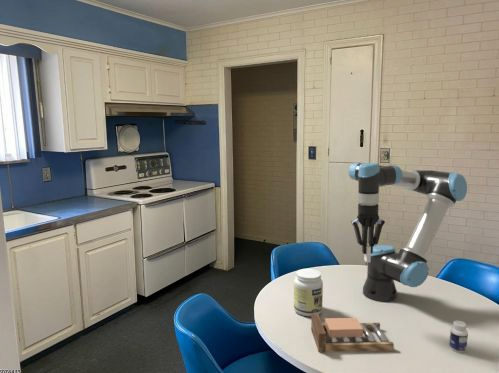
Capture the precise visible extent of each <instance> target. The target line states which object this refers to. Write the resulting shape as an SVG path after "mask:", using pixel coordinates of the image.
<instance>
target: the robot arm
mask: <svg viewBox="0 0 499 373" xmlns="http://www.w3.org/2000/svg"><path fill="white" fill-rule="evenodd" d="M348 176H349V178H350V179H351V180H354V181H358V187H357V188H358V193H357V195H358V200H357V201H358V202H357V203H358V204H357V206H358V207H357V217H356V219H355V220H351V222H350V223H351V225H352V226H353V230H354V232H355V233H354V234H355V237H356V242H357V244H358V245H359V246H361V247H362V250H361V251H362V254H364V255H363V256H364V258H363V260H364V261H365V263H367V268H366V269H367V272H366V273H367V274H366V275H367V276H366V278H365V281H364V284H363V287H362V295H364V297H366V298H367V299H371V300H373V301H378V302H390V301H392V302H393V301H394V300H396V299H397V297H398V291H397V287H396V283H395V282H398V283H400V284H402V285H404V286H407V287H410V288H417V287H419V286H421V285H422V284H424V282H425V281H426V280H427V278H428V276H429V271H430V267H429V265H428V264H427V263H428V258H427V253H428V252H429V250H430V247H431V246H432V243H433V241H434V240H435V238H436V235H437V234H438V231H439V229H440V226H441V225H442V223H443V220H444V218H445V216H446V214H447V212H448V211H449V208H452V207H454V206H455V204H456V202H460V201H463V200H464V199H465V198H466V196H467V194H468V193H467V192H468V184H467V183H468V182H467V180H466V177H465V176H464V175H463V174H460V173H455V172H448V171H447V172H446V171H439V170H432V169H431V170H428V169H427V170H425V169H424V170H420V169H419V170H415V169H409V170H405V169H404V170H403V169H401V167H399V166H398V165H396V164H395V165H392V164H390V165H380V164H378V163H377V162H364V163H363V162H354V163H351V165H350V166H349V168H348ZM385 186H386V187H387V186H394V187H400V188H404V189H406V190H407V191H413V192H416V193H419V194H422V195H425V196H426V198H427V199H428V201H427V203H426V204H425V206H424V209H423V211H422V213H421V215H420V217H419V219H418V221H417V223H416V225H415V228H414V229H413V231H412V233H411V235H410V238H409V240H408V242H407V244H406V246H405V247H400V250H399V252H396V251H397V250H396V247H395V246H393V245H386V244H385V245H384V244H383V245H382V244H381V245H379V241H380V237H381V233H382V229H383V226H384V225H385V223H386V221H385V220H384V219H382V218H380V216H379V199H380V196H379V195H380V194H379V193H380V192H379V191H380V187H385ZM359 223H360V224H359ZM359 225H361V231H360V227H359ZM375 225H376V227H375Z"/></svg>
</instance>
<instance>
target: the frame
mask: <svg viewBox="0 0 499 373" xmlns="http://www.w3.org/2000/svg"><path fill="white" fill-rule="evenodd" d="M322 322H323V321H322V320H321V318H320V316H319V314H318V313H312V316H311V328H310V329H311V333H312V336H313V339H314V342H315V345H316V349H317V351H318V353H333V352H334V353H338V352H340V353H341V352H343V353H344V352H345V353H346V352H383V351H384V352H385V351H387V352H389V351H394V349H395V348H394V346H395V345H394V342H393V341H388V342H381V341H376V342H368V341H363V342H359V343H356V342H350V343H343V342H338V343H331V342H327V341H326V339H327V332H326V330H325V327H324V326H325V323H322ZM359 323H360V324H361V323H362V322H359ZM363 323H364V324H365V325H366V326H367V328H368V330H369V331H370V332H372V331H373V332H374V330H373V329H372V327H371V324H372V323H373V322H363ZM375 323H376V324H377V325H378V326H379V328H380V329H381V323H380V322H375Z"/></svg>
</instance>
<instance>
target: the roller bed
mask: <svg viewBox="0 0 499 373" xmlns="http://www.w3.org/2000/svg"><path fill="white" fill-rule="evenodd" d="M360 323H361V324H360V325H361V326H362V328H363V337H365V339H366V342H377V341H376V339H375V337H373V335H372V333H371V331H369V330H368V328H367V326H366V325H365V324H364V323H365V322H360ZM371 323H372V324H371V327H372V329H373V332H374V333H375V335H376V337H377V338H378V340H379V342H389V340H388V338H387V337H386V336H385V334H384V333H383V331H382V330H381V327H380V328H379V326H378V325H377V324H376V323H377V322H371ZM324 327H325V326H324ZM325 330H326V328H325ZM325 333H326V336H328V340H329V343H339V342H338V340H337V337H330V338H329V335H328V333H327V330H326V331H325ZM340 338H341V341H342V343H351V340H350V337H340ZM352 338H353V340H354V343H359V342H364V340H363V339H362V337H352Z"/></svg>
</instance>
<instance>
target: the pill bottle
mask: <svg viewBox="0 0 499 373" xmlns="http://www.w3.org/2000/svg"><path fill="white" fill-rule="evenodd" d="M449 331H450V332H449V343H448V344H449V346H448V347H449V349H450V350H452V351H453V352H455V353H458V354H459V353H460V354H463V353H466V352H467V349H468V337H469V332H468V330H467V323H466V322H464V321H462V320H454V321H453V323H452V326H451V327H450V330H449Z"/></svg>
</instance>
